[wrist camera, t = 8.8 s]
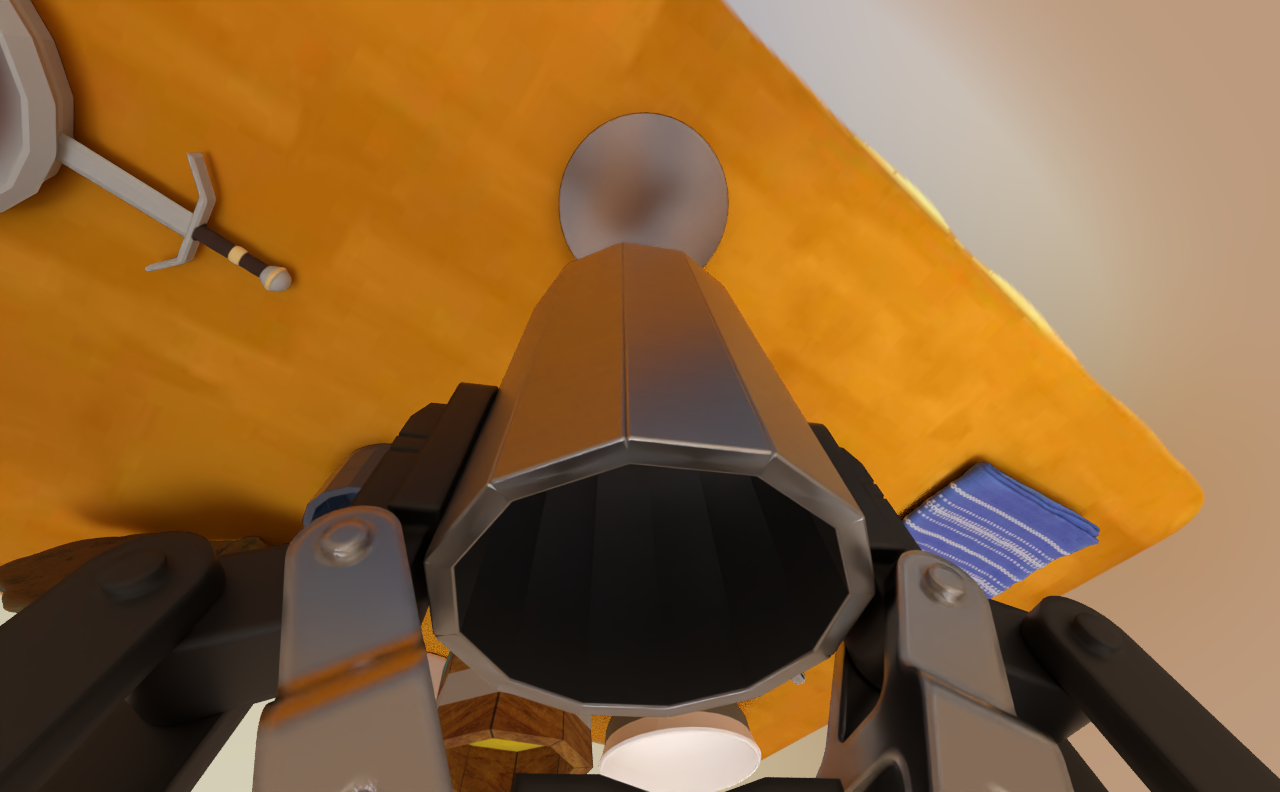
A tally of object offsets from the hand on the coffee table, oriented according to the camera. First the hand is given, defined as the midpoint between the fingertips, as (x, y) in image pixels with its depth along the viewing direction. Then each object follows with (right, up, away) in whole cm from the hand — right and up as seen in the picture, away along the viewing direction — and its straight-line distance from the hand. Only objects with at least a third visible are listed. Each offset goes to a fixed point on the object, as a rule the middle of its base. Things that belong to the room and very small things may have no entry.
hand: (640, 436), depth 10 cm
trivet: (0, +12, +17) cm, 21 cm away
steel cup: (0, +2, +4) cm, 5 cm away
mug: (-11, -22, +38) cm, 45 cm away
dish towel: (+30, -16, +36) cm, 50 cm away
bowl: (+4, -37, +48) cm, 61 cm away
